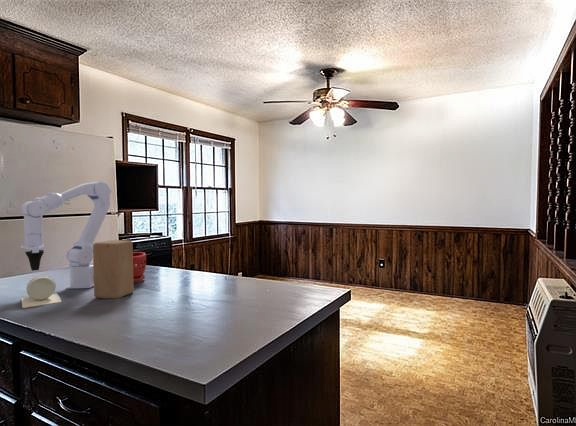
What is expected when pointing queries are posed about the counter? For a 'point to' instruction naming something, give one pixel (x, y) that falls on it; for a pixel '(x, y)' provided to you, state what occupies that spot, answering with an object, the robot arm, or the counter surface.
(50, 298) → the mat
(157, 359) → the counter surface
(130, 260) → the wooden block
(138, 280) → the plant pot
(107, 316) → the counter surface
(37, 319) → the counter surface
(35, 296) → the coffee cup
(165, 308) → the counter surface
